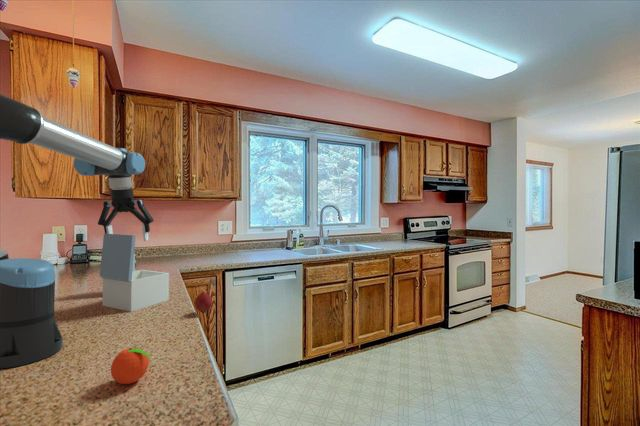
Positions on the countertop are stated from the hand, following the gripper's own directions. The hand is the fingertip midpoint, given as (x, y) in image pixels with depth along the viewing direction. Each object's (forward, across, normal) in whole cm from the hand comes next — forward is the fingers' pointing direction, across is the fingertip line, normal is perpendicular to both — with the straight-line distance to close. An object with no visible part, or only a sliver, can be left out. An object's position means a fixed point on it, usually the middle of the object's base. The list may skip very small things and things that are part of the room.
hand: (128, 240), depth 128 cm
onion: (+22, -33, +22) cm, 46 cm away
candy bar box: (+25, +10, -7) cm, 28 cm away
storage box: (+23, -4, +9) cm, 25 cm away
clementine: (+14, -32, +67) cm, 75 cm away
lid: (+3, -2, +12) cm, 12 cm away
